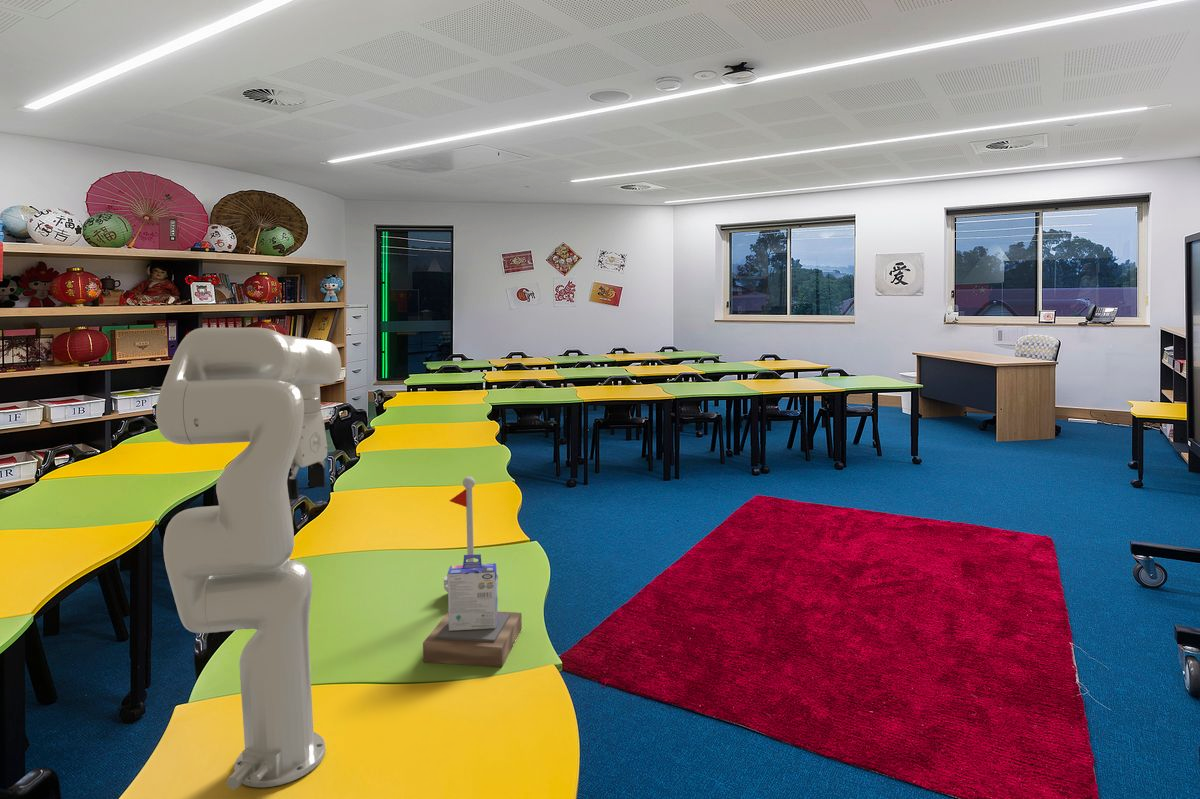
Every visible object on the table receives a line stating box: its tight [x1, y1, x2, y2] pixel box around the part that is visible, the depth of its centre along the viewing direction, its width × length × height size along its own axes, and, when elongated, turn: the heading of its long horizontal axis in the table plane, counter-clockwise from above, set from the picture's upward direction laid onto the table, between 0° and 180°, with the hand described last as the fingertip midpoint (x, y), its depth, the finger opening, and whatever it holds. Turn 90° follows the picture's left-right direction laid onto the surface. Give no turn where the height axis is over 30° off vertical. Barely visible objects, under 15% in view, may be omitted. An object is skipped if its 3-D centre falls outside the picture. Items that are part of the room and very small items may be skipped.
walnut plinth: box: [422, 610, 523, 668], centre depth 141 cm, size 16×16×4 cm
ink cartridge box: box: [446, 553, 498, 631], centre depth 140 cm, size 10×6×14 cm, turn 97°
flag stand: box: [443, 476, 499, 593], centre depth 165 cm, size 13×13×30 cm
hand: (304, 492), depth 134 cm, fingers open, 9 cm apart
